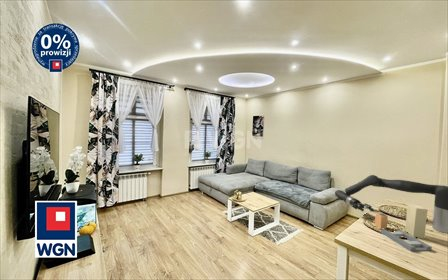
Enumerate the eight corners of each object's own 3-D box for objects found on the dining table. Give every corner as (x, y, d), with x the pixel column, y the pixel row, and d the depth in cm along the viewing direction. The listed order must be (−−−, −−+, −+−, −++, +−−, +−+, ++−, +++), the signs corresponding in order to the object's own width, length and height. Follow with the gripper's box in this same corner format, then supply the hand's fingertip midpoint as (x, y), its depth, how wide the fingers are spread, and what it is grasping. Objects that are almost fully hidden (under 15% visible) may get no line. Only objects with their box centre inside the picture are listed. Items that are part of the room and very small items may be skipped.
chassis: (380, 232, 132) (380, 229, 132) (398, 232, 133) (398, 228, 133) (410, 251, 112) (410, 247, 112) (431, 250, 113) (431, 246, 113)
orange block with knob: (374, 225, 142) (375, 211, 141) (380, 225, 142) (381, 211, 142) (380, 229, 137) (381, 214, 136) (386, 229, 137) (387, 214, 137)
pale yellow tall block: (426, 238, 126) (429, 209, 124) (413, 237, 127) (416, 208, 126) (416, 232, 133) (419, 204, 132) (404, 231, 135) (407, 203, 134)
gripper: (346, 198, 166) (360, 205, 150) (360, 198, 167) (376, 205, 151) (345, 206, 167) (359, 214, 150) (360, 206, 168) (376, 214, 151)
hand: (368, 210), depth 151 cm, fingers open, 8 cm apart
